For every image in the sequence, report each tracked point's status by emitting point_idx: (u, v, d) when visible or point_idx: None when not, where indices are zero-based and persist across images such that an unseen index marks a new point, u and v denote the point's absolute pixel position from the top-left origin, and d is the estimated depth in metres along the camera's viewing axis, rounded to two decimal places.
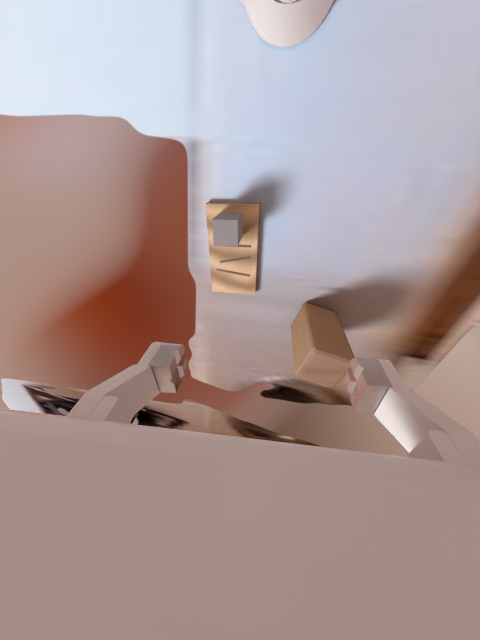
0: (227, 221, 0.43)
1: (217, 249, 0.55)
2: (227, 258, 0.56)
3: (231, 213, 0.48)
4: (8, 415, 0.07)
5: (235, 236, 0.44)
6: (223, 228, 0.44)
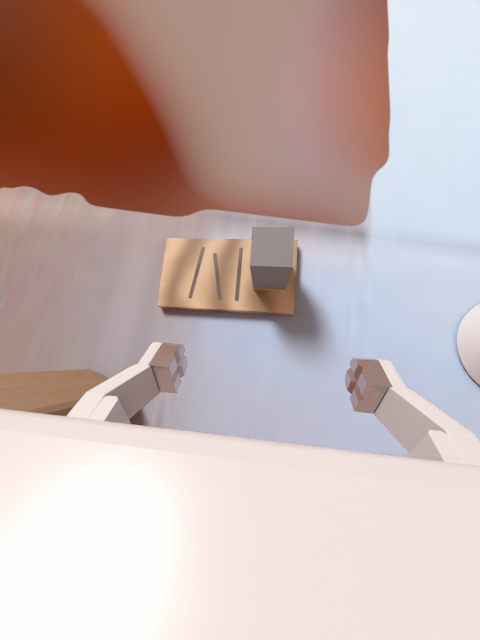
0: (290, 250, 0.26)
1: (234, 251, 0.37)
2: (219, 264, 0.36)
3: None
4: (8, 415, 0.07)
5: (266, 262, 0.26)
6: (279, 243, 0.26)
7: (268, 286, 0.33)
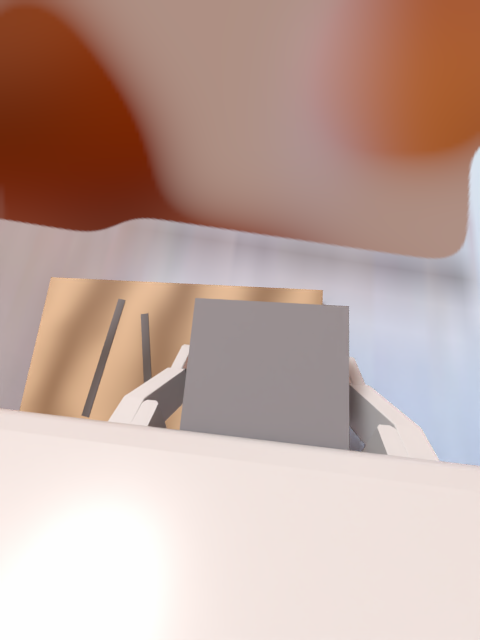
0: (338, 404, 0.07)
1: (186, 311, 0.17)
2: (153, 339, 0.17)
3: None
4: (8, 415, 0.07)
5: None
6: (293, 368, 0.07)
7: None
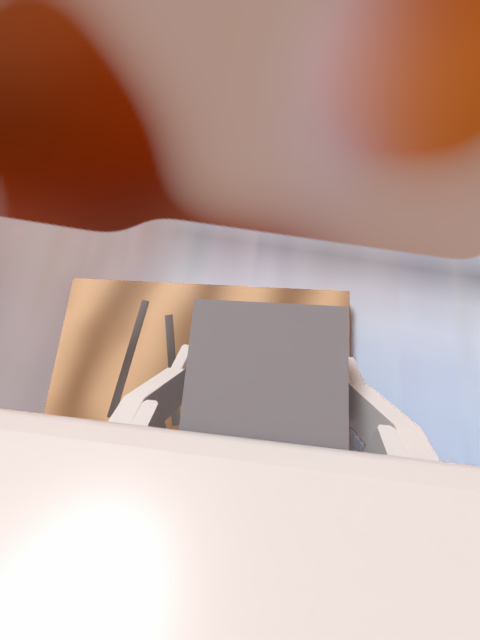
0: (338, 405, 0.07)
1: None
2: (178, 340, 0.17)
3: None
4: (8, 415, 0.07)
5: None
6: (292, 369, 0.07)
7: None
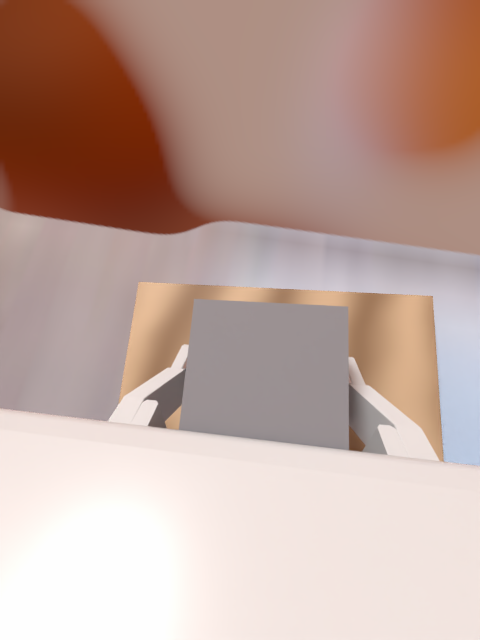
0: (338, 405, 0.07)
1: None
2: None
3: None
4: (8, 415, 0.07)
5: None
6: (292, 369, 0.07)
7: None
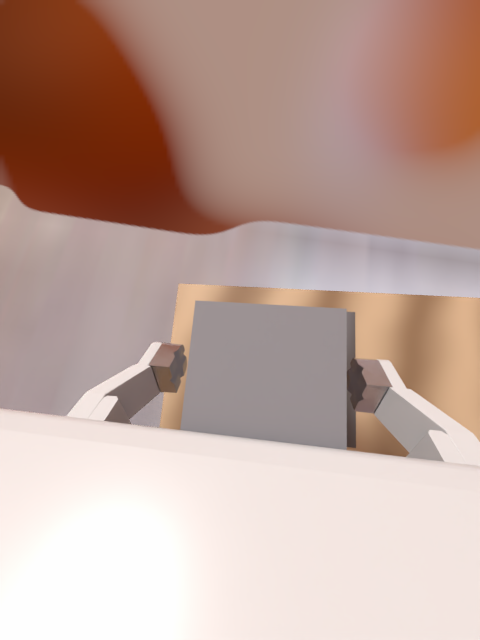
0: (336, 405, 0.07)
1: None
2: None
3: None
4: (8, 415, 0.07)
5: None
6: (292, 370, 0.07)
7: None
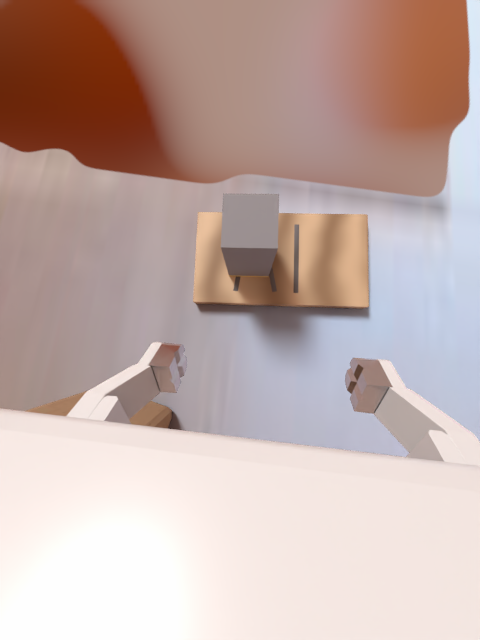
0: (274, 226, 0.20)
1: (288, 229, 0.29)
2: None
3: None
4: (8, 415, 0.07)
5: (242, 242, 0.20)
6: (259, 216, 0.20)
7: (247, 272, 0.27)
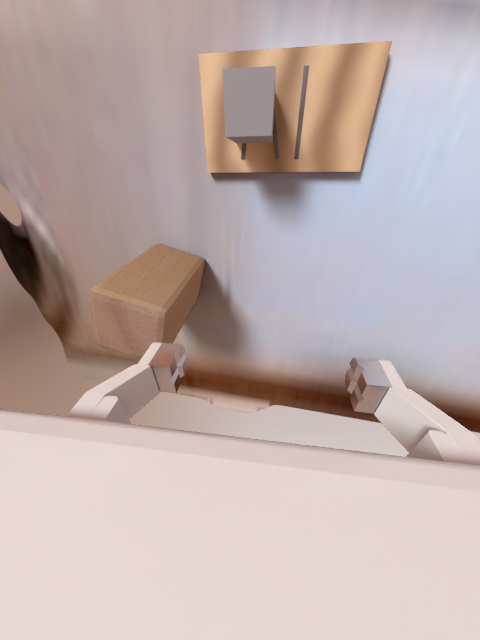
0: (270, 110, 0.22)
1: (296, 74, 0.27)
2: (276, 101, 0.28)
3: (273, 117, 0.28)
4: (8, 415, 0.07)
5: (242, 130, 0.24)
6: (257, 97, 0.22)
7: (252, 141, 0.30)
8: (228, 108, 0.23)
